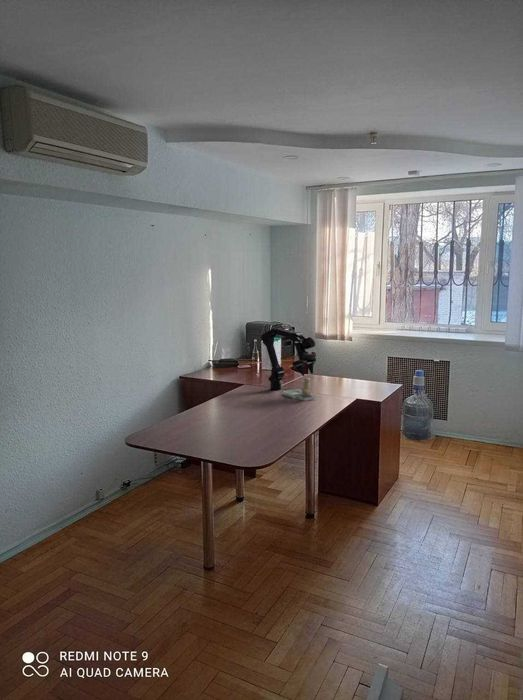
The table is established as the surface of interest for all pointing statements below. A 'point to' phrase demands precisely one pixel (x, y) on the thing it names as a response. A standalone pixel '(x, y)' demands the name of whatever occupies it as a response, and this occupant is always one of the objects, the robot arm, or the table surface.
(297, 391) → the tray
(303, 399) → the dowel holder
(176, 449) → the table surface
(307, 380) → the dowel
